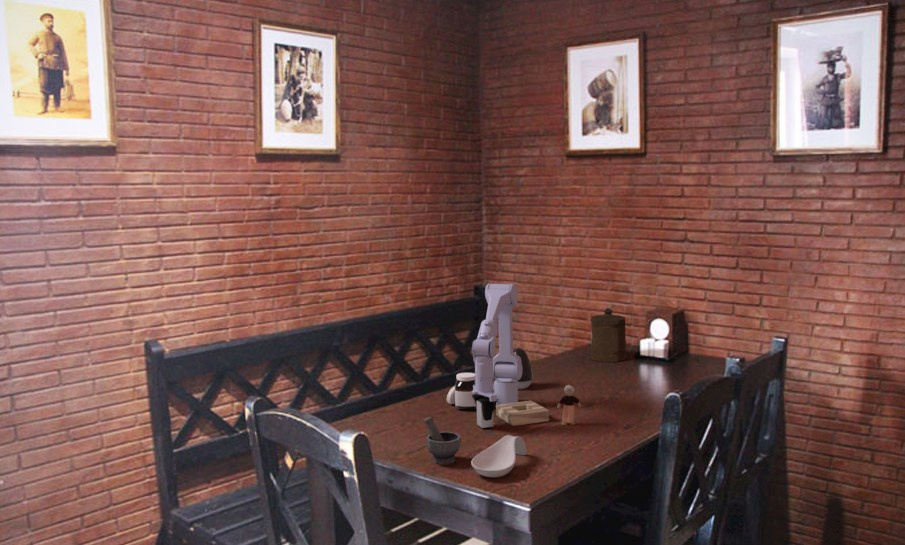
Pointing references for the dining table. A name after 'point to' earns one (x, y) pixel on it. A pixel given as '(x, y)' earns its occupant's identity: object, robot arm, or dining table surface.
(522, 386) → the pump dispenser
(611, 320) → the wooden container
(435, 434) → the mortar and pestle
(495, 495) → the dining table surface
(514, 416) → the maple hole block
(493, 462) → the spoon rest
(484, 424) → the steel peg
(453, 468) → the dining table surface
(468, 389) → the spread jar
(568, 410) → the grandmother figurine
